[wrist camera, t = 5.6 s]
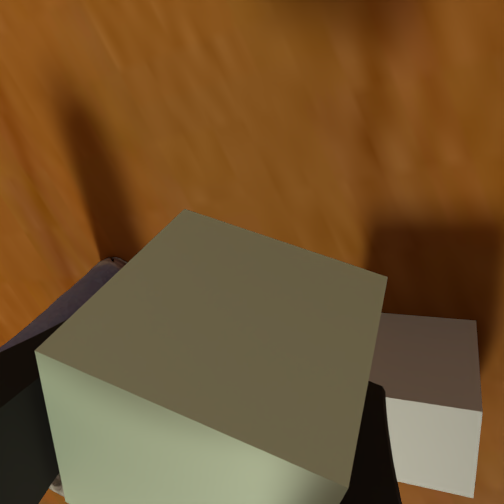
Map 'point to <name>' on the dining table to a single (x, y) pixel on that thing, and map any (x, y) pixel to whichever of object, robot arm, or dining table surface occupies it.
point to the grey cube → (431, 399)
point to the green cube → (213, 373)
